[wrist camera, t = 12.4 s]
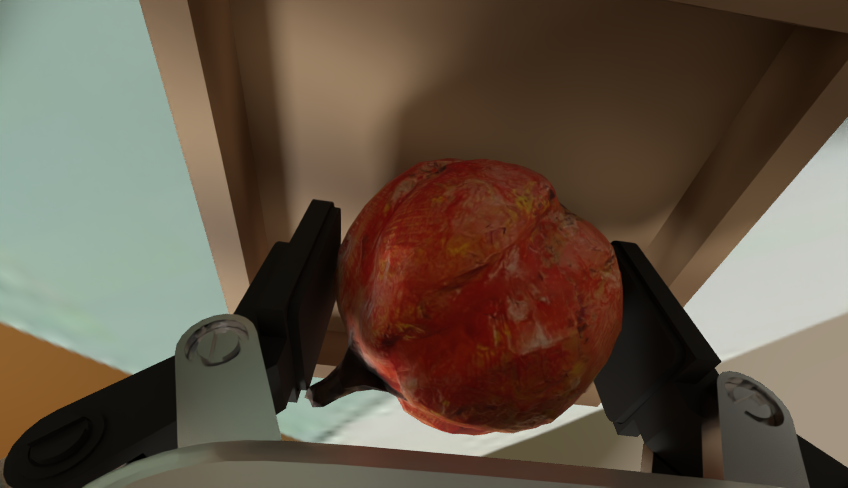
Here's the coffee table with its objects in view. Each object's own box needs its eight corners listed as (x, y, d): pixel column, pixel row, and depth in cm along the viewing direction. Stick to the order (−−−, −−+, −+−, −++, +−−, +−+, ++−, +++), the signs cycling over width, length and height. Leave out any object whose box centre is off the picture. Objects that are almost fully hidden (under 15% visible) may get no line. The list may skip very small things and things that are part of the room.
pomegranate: (535, 75, 12) (197, 149, 7) (788, 198, 8) (411, 552, 3) (485, 238, 17) (273, 342, 12) (622, 359, 13) (388, 580, 8)
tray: (177, -146, 8) (85, -185, 6) (840, -19, 9) (960, -15, 7) (267, 322, 18) (245, 369, 16) (579, 358, 19) (597, 406, 17)
